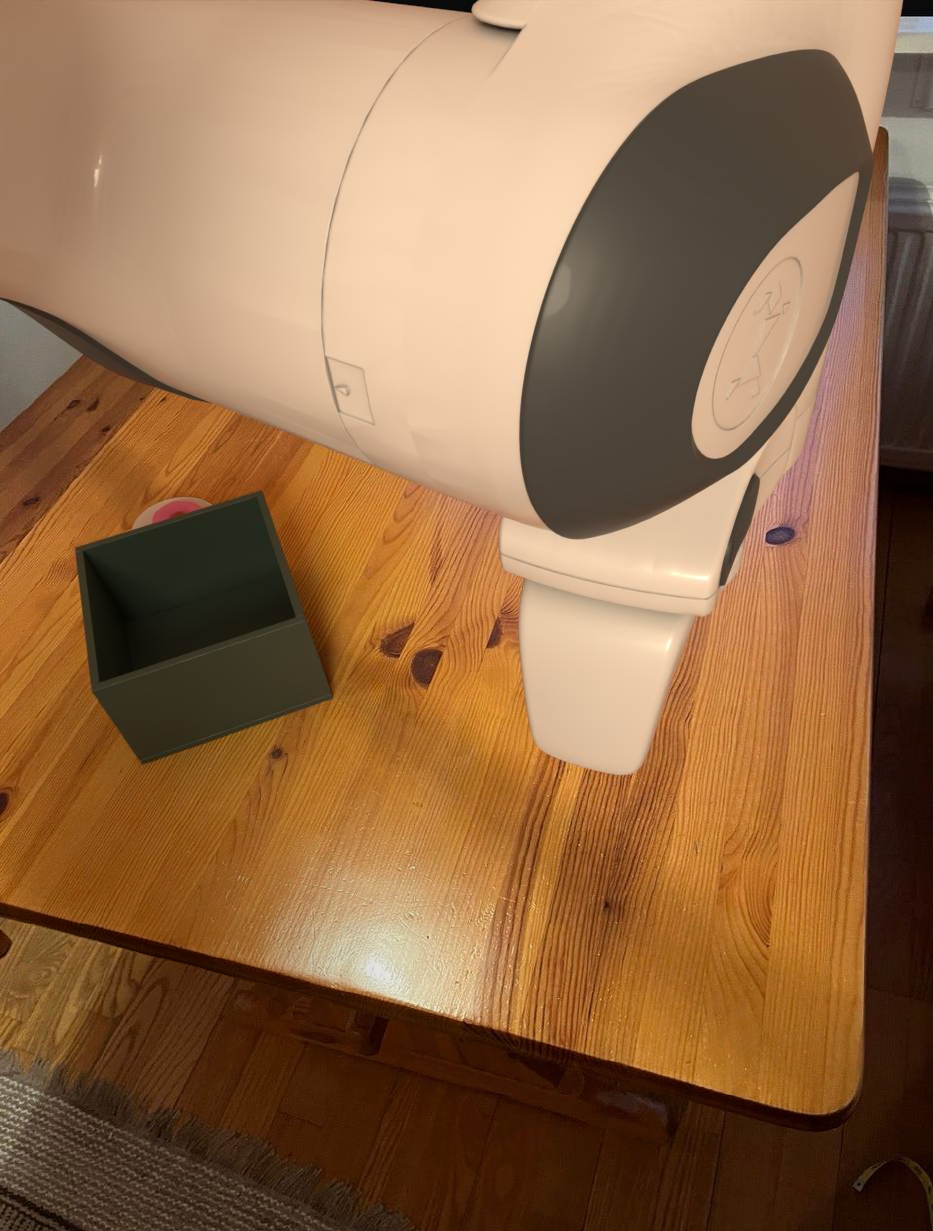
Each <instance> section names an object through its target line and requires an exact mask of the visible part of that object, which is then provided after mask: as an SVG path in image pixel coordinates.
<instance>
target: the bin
mask: <svg viewBox="0 0 933 1231" xmlns="http://www.w3.org/2000/svg"><path fill="white" fill-rule="evenodd" d="M271 514H272V513H271V511H270V508H269V505H268V502H267V500H266V496H265V494H264V491H263V490H262V489H260V490H256V491H253V492H250V493H247V494H244V495H241V496H238V497H234V498H230V499H228V500H224V501H221V502H218V503H215V504H212V505H211V506H208V507H205V508H202V509H198V510H195V511H192V512H189V513H185V514H182V515H179V516H176V517H172V518H169V519H166V520H163V521H159V522H156V523H153V524H150V525H146V526H143V527H140V528H137V529H133V530H132V529H131V530H127V531H124V532H121V533H117V534H114V535H110V536H107V537H105V538H101V539H98V540H95V541H92V542H88V543H85V544H83V545H78V546H75V547H74V551H75V562H76V570H77V579H78V587H79V596H80V604H81V605H80V606H81V613H82V620H83V629H84V630H83V631H84V639H85V646H86V647H85V648H86V654H87V663H88V664H87V665H88V672H89V681H90V688H91V692H92V694H93V695H94V697H95V699H96V700H97V701H98V703H99V704H100V706H101V707H102V709H103V710H104V712H105V713H106V714H107V716H108V717H109V719H110V721H111V722H112V723H113V725H114V726H115V728H116V730H117V731H118V732H119V734H120V735H121V736H122V738H123V739H124V741H125V743H126V744H127V745H128V747H129V748H130V750H131V751H132V753H133V754H134V756H135V757H136V758H137V760H138V762H139V763H140V765H142V766H143V765H146V764H149V763H151V762H154V761H157V760H161V759H163V758H167V757H169V756H172V755H175V754H178V753H180V752H183V751H186V750H189V749H192V748H194V747H197V746H201V745H204V744H206V743H210V742H213V741H214V740H218V739H220V738H224V737H226V736H229V735H232V734H235V733H238V732H241V731H243V730H246V729H249V728H253V727H255V726H259V725H260V724H264V723H267V722H269V721H272V720H276V719H278V718H281V717H282V716H287V715H289V714H292V713H295V712H299V711H300V710H303V709H304V710H305V709H306V708H309V707H312V706H315V705H317V704H321V703H324V702H326V701H330V700H333V699H334V696H333V693H332V691H331V687H330V684H329V681H328V679H327V675H326V673H325V670H324V666H323V664H322V660H321V658H320V654H319V652H318V648H317V645H316V643H315V640H314V637H313V633H312V631H311V628H310V626H309V621H308V619H307V616H306V613H305V610H304V606H303V603H302V601H301V598H300V595H299V592H298V589H297V587H296V583H295V580H294V577H293V574H292V571H291V568H290V566H289V563H288V560H287V557H286V554H285V551H284V547H283V546H282V544H281V540H280V537H279V534H278V530H277V527H276V525H275V522H274V520H273V517H272V515H271Z"/></svg>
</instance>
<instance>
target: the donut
mask: <svg viewBox="0 0 933 1231" xmlns="http://www.w3.org/2000/svg"><path fill="white" fill-rule="evenodd" d="M211 505H213V504H212V503H210V502H209V501H207V500H205V499H201V498H197V497H191V496H178V497H171V498H168V499H165V500H161V501H159V502H156V503H155V504H152V505H151V506H149V507H147V508H146V509H145V510H144V511H142V512H141V513H140V515H138V516H137V518H136V519H135V520H134V523H133V524H132V526H131V530H133V529H137V528H140V527H143V526H146V525H150V524H153V523H156V522H159V521H163V520H166V519H169V518H172V517H176V516H179V515H182V514H185V513H189V512H192V511H195V510H198V509H202V508H205V507H208V506H211Z"/></svg>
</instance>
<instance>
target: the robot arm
mask: <svg viewBox="0 0 933 1231" xmlns="http://www.w3.org/2000/svg"><path fill="white" fill-rule="evenodd" d="M903 2H904V0H477V1H476V2H475V3H473V4H472V7H471V12H465V11H457V10H449V9H442V8H434V7H433V8H432V7H425V6H417V5H408V4H401V3H400V4H399V3H393V2H392V3H391V2H385V1H375V0H0V301H3V302H6V303H8V304H9V305H11V306H13V307H14V308H16V309H17V310H18V311H20V312H22V313H23V314H25V315H26V316H28V317H29V318H30V319H32V320H34V321H35V322H36V323H37V324H39V325H40V326H42V327H43V328H45V329H46V330H48V331H49V332H51V333H52V334H54V335H55V336H56V337H57V338H59V339H60V340H61V341H63V342H64V343H66V344H67V345H69V346H70V347H71V348H73V349H74V350H76V351H78V352H79V353H80V354H82V355H83V356H85V357H86V358H88V359H90V360H92V362H94V363H96V364H98V365H99V366H101V367H102V368H105V369H107V370H108V371H110V372H112V373H114V374H116V375H118V376H121V377H123V378H126V379H129V380H130V381H133V382H136V383H140V384H142V385H146V386H149V387H152V388H156V389H158V390H161V391H165V392H168V393H170V394H174V395H176V396H180V397H182V398H186V399H189V400H193V401H198V402H203V403H208V404H212V405H216V406H219V407H221V408H223V409H226V410H229V411H231V412H234V413H236V414H239V415H241V416H243V417H247V418H248V419H251V420H254V421H256V422H259V423H261V424H264V425H267V426H269V427H272V428H274V429H277V430H280V431H282V432H285V433H287V434H290V435H292V436H295V437H298V438H300V439H303V440H305V441H308V442H309V443H313V444H315V445H318V446H320V447H323V448H326V449H328V450H329V451H333V452H336V453H338V454H341V455H343V456H346V457H348V458H351V459H354V460H356V461H359V462H361V463H364V464H366V465H369V466H371V467H374V468H377V469H379V470H381V471H384V472H387V473H388V474H390V475H393V476H395V477H398V478H400V479H402V480H406V481H408V482H410V483H413V484H415V485H418V486H421V487H423V488H426V489H428V490H431V491H433V492H435V493H439V494H441V495H444V496H445V497H449V498H452V499H454V500H456V501H460V502H462V503H465V504H468V505H470V506H473V507H476V508H478V509H480V510H484V511H485V512H489V513H491V514H495V515H497V516H500V517H501V519H500V522H499V526H498V536H497V539H498V540H497V541H498V554H499V561H500V565H501V568H502V569H503V571H504V572H506V573H508V574H510V575H513V576H516V577H519V578H522V579H523V581H522V584H521V590H520V596H519V605H518V617H517V618H518V620H517V637H518V638H517V639H518V651H519V662H520V671H521V680H522V681H521V682H522V686H523V695H524V702H525V709H526V714H527V720H528V727H529V730H530V734H531V737H532V739H533V742H534V744H535V745H536V746H537V748H538V749H539V750H540V751H542V752H543V753H545V754H547V755H548V756H550V757H553V758H554V759H558V760H559V761H562V762H565V763H568V764H571V765H574V766H577V767H580V768H583V769H587V770H592V771H595V772H599V773H602V774H603V773H604V774H608V775H614V776H628V775H632V774H635V773H636V772H637V771H638V770H640V768H641V767H642V766H643V765H644V763H645V761H646V759H647V758H648V757H647V756H648V755H649V752H650V750H651V746H652V744H653V742H654V738H655V735H656V732H657V730H658V727H659V723H660V720H661V717H662V714H663V711H664V708H665V705H666V702H667V699H668V696H669V692H670V689H671V686H672V684H673V680H674V678H675V675H676V671H677V669H678V666H679V663H680V660H681V658H682V656H683V655H682V654H683V652H684V649H685V647H686V643H687V641H688V638H689V636H690V634H691V631H692V628H693V626H694V623H695V620H696V618H697V617H701V618H704V617H707V616H709V615H710V614H711V613H712V612H713V611H714V610H715V607H716V604H717V602H718V599H719V597H720V596H719V593H720V590H721V587H722V586H724V585H725V584H726V582H727V579H728V576H729V573H730V571H731V568H732V566H733V563H734V560H735V558H736V555H737V553H738V551H739V548H740V546H741V544H742V542H743V543H744V541H745V538H746V536H747V534H748V532H749V530H750V527H751V524H752V522H753V520H754V519H755V517H756V516H757V515H758V513H759V511H760V510H761V509H762V508H763V506H764V505H765V504H766V502H767V501H768V499H769V498H770V497H771V495H772V493H773V492H774V490H775V489H776V488H777V485H778V484H779V482H780V480H781V478H782V477H783V476H784V475H785V474H786V473H787V472H788V471H789V470H790V469H791V468H792V467H793V466H794V464H795V463H796V462H797V460H799V457H800V456H801V454H802V452H803V450H804V447H805V445H806V443H807V438H808V434H809V431H810V426H811V421H812V418H813V412H814V409H815V405H816V401H817V400H816V399H817V396H818V395H817V394H818V391H819V388H820V384H821V379H822V376H823V370H824V366H825V362H826V358H827V353H828V348H829V344H830V341H831V336H832V332H833V329H834V325H835V324H836V320H837V317H838V315H839V311H840V308H841V305H842V301H843V298H844V296H845V291H846V288H847V283H848V280H849V276H850V272H851V269H852V268H851V267H852V264H853V259H854V255H855V252H856V247H857V244H858V240H859V235H860V231H861V226H862V222H863V218H864V214H865V208H866V205H867V202H868V196H869V191H870V187H871V183H872V178H873V171H874V166H875V157H874V150H875V147H876V146H875V145H876V141H877V137H878V133H879V128H880V124H881V120H882V115H883V111H884V107H885V106H884V105H885V103H886V102H885V101H886V97H887V91H888V87H889V81H890V77H891V72H892V66H893V62H894V61H893V60H894V56H895V51H896V45H897V38H898V32H899V28H900V22H901V17H902V16H901V15H902V9H903V4H904V3H903ZM718 596H719V597H718Z"/></svg>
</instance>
